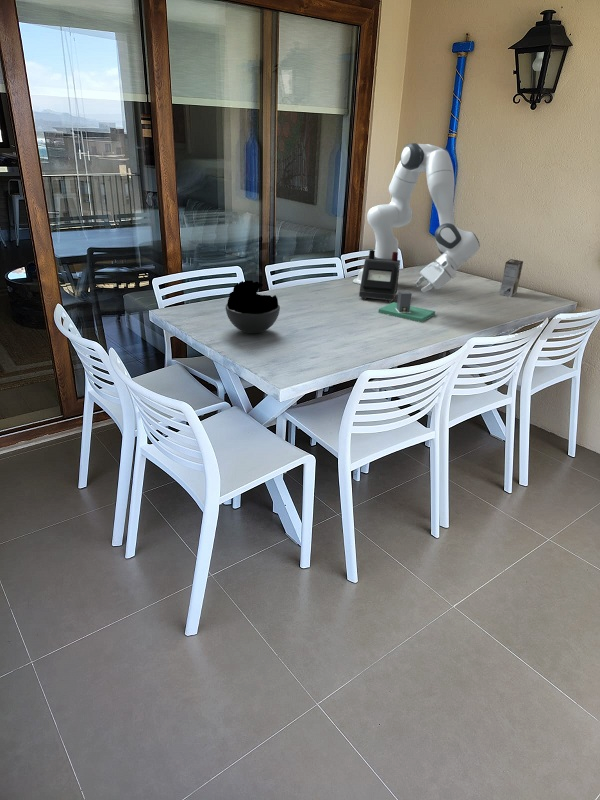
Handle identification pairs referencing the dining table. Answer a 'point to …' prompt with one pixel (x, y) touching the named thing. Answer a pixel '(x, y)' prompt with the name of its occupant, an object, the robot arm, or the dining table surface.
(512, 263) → the coffee box
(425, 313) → the header board
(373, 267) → the voltmeter
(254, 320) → the coal bowl
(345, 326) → the dining table surface
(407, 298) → the block
